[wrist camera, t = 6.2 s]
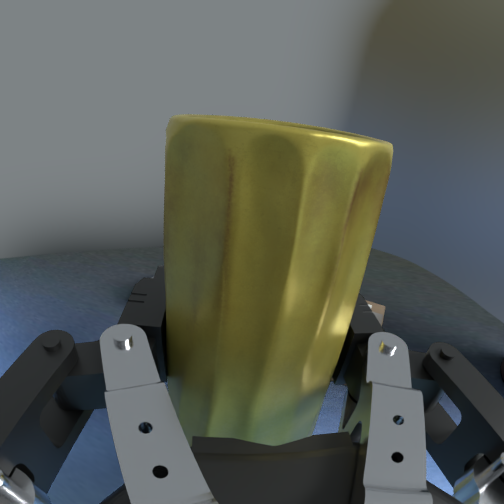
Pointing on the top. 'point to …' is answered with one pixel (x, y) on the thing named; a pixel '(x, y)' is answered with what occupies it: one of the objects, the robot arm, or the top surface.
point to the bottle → (502, 369)
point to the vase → (262, 268)
